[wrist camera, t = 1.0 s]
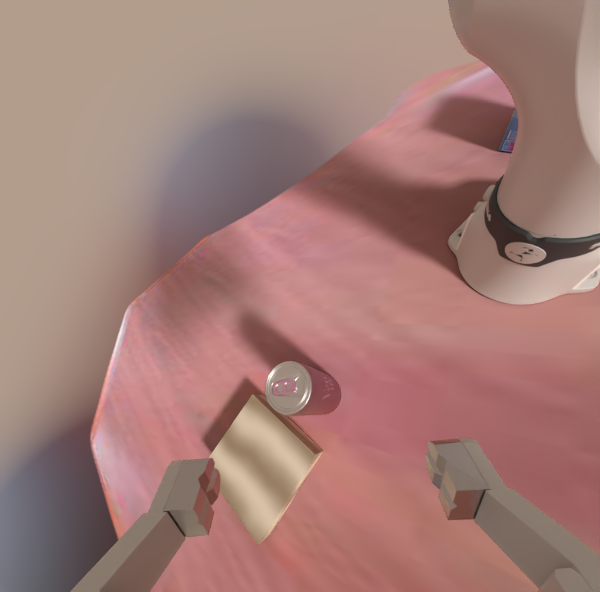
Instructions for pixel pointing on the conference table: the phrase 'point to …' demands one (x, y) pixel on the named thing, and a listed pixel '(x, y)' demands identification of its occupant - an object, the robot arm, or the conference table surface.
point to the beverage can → (301, 390)
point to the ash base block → (263, 465)
